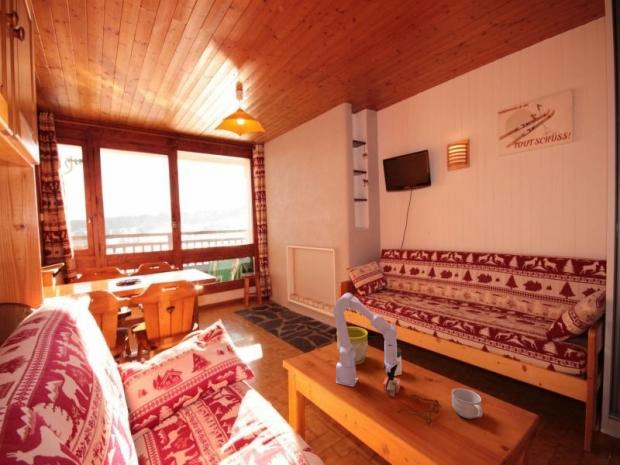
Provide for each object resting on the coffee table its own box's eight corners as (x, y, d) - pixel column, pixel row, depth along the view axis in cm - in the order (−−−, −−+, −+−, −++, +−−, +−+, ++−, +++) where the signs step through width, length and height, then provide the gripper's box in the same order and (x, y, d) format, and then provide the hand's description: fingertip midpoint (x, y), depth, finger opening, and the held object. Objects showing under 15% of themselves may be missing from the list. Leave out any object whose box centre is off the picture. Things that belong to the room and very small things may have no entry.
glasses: (427, 426, 115) (427, 414, 115) (396, 412, 124) (396, 400, 124) (439, 410, 124) (439, 398, 124) (410, 398, 133) (409, 387, 133)
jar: (402, 376, 151) (402, 353, 150) (386, 375, 152) (385, 353, 152) (400, 368, 159) (400, 346, 159) (385, 367, 161) (384, 345, 161)
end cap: (383, 389, 140) (383, 383, 140) (386, 382, 146) (386, 376, 146) (398, 392, 137) (398, 386, 137) (400, 385, 143) (400, 379, 143)
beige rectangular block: (386, 396, 135) (386, 388, 135) (390, 386, 143) (390, 379, 143) (394, 397, 134) (393, 390, 134) (397, 387, 142) (397, 380, 142)
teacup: (447, 405, 127) (447, 387, 126) (472, 405, 126) (472, 387, 126) (463, 428, 113) (462, 408, 112) (492, 428, 112) (491, 407, 112)
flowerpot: (365, 369, 159) (364, 339, 159) (333, 364, 166) (332, 336, 165) (370, 355, 176) (370, 328, 175) (341, 351, 182) (340, 325, 182)
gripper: (396, 359, 131) (397, 389, 132) (401, 346, 144) (402, 374, 145) (380, 357, 134) (381, 386, 135) (387, 344, 147) (387, 371, 148)
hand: (391, 379), depth 140 cm, fingers closed
